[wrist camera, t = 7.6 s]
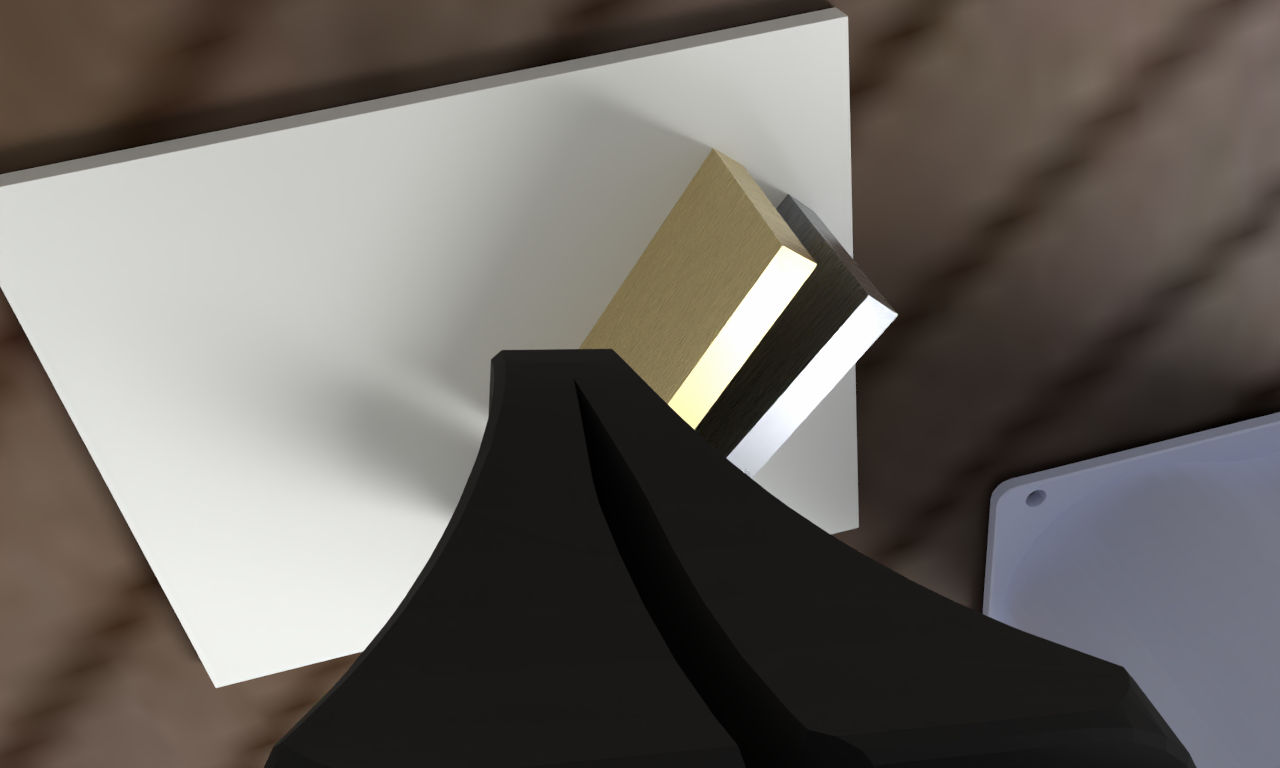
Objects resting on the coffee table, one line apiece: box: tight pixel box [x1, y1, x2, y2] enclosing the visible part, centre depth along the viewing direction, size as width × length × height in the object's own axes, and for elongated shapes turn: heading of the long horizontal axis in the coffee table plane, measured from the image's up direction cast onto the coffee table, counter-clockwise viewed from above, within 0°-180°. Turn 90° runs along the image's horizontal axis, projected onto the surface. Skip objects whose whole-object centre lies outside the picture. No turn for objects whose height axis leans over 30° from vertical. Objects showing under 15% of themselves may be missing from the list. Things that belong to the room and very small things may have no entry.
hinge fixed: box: [695, 194, 898, 478], centre depth 20 cm, size 2×10×5 cm, turn 145°
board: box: [0, 7, 859, 688], centre depth 22 cm, size 15×12×1 cm
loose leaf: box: [579, 148, 817, 430], centre depth 20 cm, size 7×1×4 cm, turn 147°
